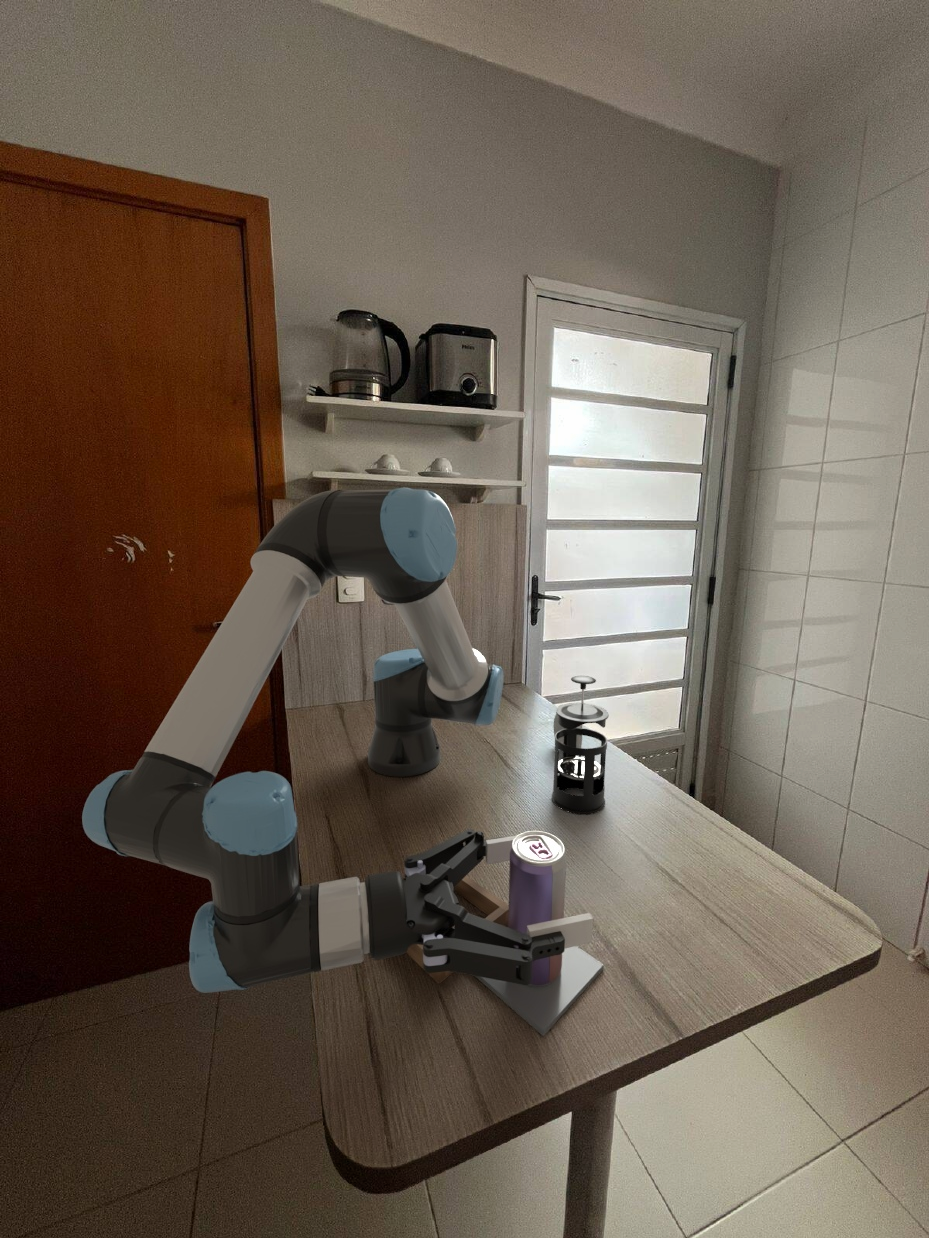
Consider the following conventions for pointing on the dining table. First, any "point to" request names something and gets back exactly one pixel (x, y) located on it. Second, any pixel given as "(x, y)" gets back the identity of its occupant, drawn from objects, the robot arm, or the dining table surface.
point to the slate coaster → (549, 990)
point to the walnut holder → (482, 901)
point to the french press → (574, 768)
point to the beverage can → (537, 892)
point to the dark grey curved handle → (558, 728)
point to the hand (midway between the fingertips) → (561, 880)
